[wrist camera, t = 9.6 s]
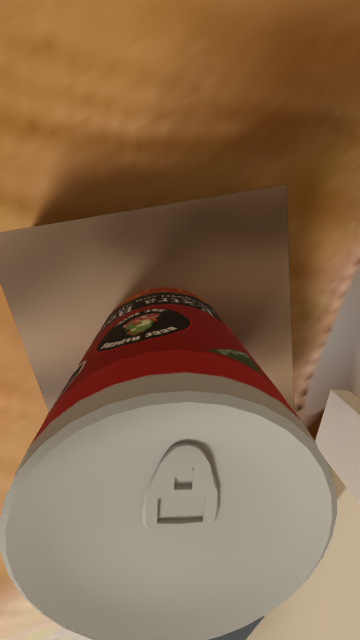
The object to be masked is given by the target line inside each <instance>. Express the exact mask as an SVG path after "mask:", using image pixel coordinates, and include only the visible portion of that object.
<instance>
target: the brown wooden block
mask: <svg viewBox="0 0 360 640" xmlns="http://www.w3.org/2000/svg"><path fill="white" fill-rule="evenodd" d="M0 283H1V286H2V289H3V291H4V294H5V297H6V299H7V302H8V305H9V307H10V310H11V313H12V315H13V318H14V321H15V323H16V326H17V329H18V331H19V334H20V337H21V339H22V342H23V345H24V347H25V350H26V353H27V355H28V358H29V361H30V363H31V366H32V369H33V371H34V374H35V377H36V379H37V382H38V385H39V387H40V390H41V393H42V395H43V398H44V401H45V403H46V406H47V409H48V411H49V412H50V410H51V408H52V407H53V405H54V403H55V402H56V400H57V399H58V397H59V395H60V394H61V392H62V391H63V389H64V387H65V386H66V384H67V382H68V381H69V379H70V378H71V376H72V374H73V373H74V371H75V369H76V368H77V366H78V365H79V363H80V361H81V360H82V358H83V357H84V355H85V353H86V352H87V350H88V348H89V347H90V345H91V344H92V342H93V340H94V339H95V337H96V335H97V334H98V332H99V331H100V329H101V327H102V326H103V324H104V323H105V321H106V319H107V318H108V316H109V315H110V314H111V313H112V311H113V310H114V309H115V308H116V307H117V306H118V305H119V304H120V303H122V302H123V301H124V300H125V299H127V298H128V297H130V296H132V295H134V294H136V293H138V292H140V291H144V290H147V289H151V288H159V287H171V288H178V289H183V290H185V291H188V292H191V293H193V294H195V295H197V296H199V297H200V298H202V299H203V300H205V301H206V302H207V303H208V304H209V305H210V306H211V307H212V308H213V309H214V310H215V311H216V312H217V313H218V315H219V316H220V317H221V318H222V320H223V321H224V322H225V323H226V325H227V326H228V327H229V328H230V330H231V331H232V332H233V333H234V335H235V336H236V337H237V338H238V340H239V341H240V342H241V344H242V345H243V346H244V347H245V349H246V350H247V351H248V352H249V354H250V355H251V356H252V357H253V359H254V360H255V361H256V362H257V364H258V365H259V366H260V367H261V369H262V370H263V371H264V372H265V374H266V375H267V376H268V377H269V379H270V380H271V381H272V383H273V384H274V385H275V386H276V388H277V389H278V390H279V391H280V393H281V394H282V395H283V397H284V398H285V400H286V402H287V403H288V404H289V406H290V407H291V408H292V409H293V411H294V390H293V360H292V331H291V302H290V272H289V243H288V214H287V184H285V185H279V186H273V187H267V188H261V189H255V190H249V191H243V192H237V193H231V194H225V195H219V196H213V197H207V198H202V199H196V200H190V201H184V202H178V203H172V204H166V205H160V206H154V207H148V208H142V209H136V210H130V211H124V212H118V213H112V214H106V215H100V216H94V217H89V218H83V219H77V220H71V221H65V222H59V223H53V224H47V225H41V226H35V227H29V228H23V229H17V230H11V231H5V232H0Z"/></svg>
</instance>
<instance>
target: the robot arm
mask: <svg viewBox="0 0 360 640" xmlns="http://www.w3.org/2000/svg"><path fill="white" fill-rule="evenodd" d="M315 442H316V444H317V447H318V449H319V451H320V452H321V454H322V455H323V457H324V458H325V459H326V461H327V462H328V463H329V465H330V466H331V467H332V469H333V470H334V471H335V473H336V474H337V475H338V477H339V478H340V479H341V481H342V482H343V483H344V485H345V486H346V487H347V489H348V490H349V491H350V492H351V494H352V495H353V497H354V498H355V499H356V501H357V502H358V503H359V505H360V400H359V399H358V398H357V397H356V396H354V395H353V394H352V393H351V392H349V391H348V390H331V391H330V395H329V397H328V401H327V404H326V407H325V411H324V414H323V417H322V421H321V424H320V427H319V431H318V434H317V437H316V441H315Z"/></svg>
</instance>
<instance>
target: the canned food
mask: <svg viewBox="0 0 360 640" xmlns="http://www.w3.org/2000/svg"><path fill="white" fill-rule="evenodd" d="M336 515H337V500H336V487H335V484H334V480H333V477H332V474H331V471H330V468H329V465H328V463H327V461H326V460H325V458H324V457H323V455H322V454H321V452H320V451H319V449H318V447H317V444H316V442H315V441H314V439H313V438H312V436H311V435H310V433H309V432H308V430H307V429H306V427H305V425H304V424H303V422H302V421H301V420H300V418H299V417H298V416H297V415H296V413H295V412H294V411H293V409H292V408H291V407H290V406H289V404H288V403H287V402H286V400H285V398H284V397H283V395H282V394H281V393H280V391H279V390H278V389H277V388H276V386H275V385H274V384H273V383H272V381H271V380H270V379H269V377H268V376H267V375H266V374H265V372H264V371H263V370H262V369H261V367H260V366H259V365H258V364H257V362H256V361H255V360H254V359H253V357H252V356H251V355H250V354H249V352H248V351H247V350H246V349H245V347H244V346H243V345H242V344H241V342H240V341H239V340H238V338H237V337H236V336H235V335H234V333H233V332H232V331H231V330H230V328H229V327H228V326H227V325H226V323H225V322H224V321H223V320H222V318H221V317H220V316H219V315H218V313H217V312H216V311H215V310H214V309H213V308H212V307H211V306H210V305H209V304H208V303H207V302H206V301H205V300H203V299H202V298H200V297H199V296H197V295H195V294H193V293H191V292H188V291H185V290H183V289H178V288H171V287H159V288H151V289H147V290H144V291H140V292H138V293H136V294H134V295H132V296H130V297H128V298H127V299H125V300H124V301H123V302H122V303H120V304H119V305H118V306H117V307H116V308H115V309H114V310H113V311H112V313H111V314H110V315H109V316H108V318H107V319H106V321H105V323H104V324H103V326H102V327H101V329H100V331H99V332H98V334H97V335H96V337H95V339H94V340H93V342H92V344H91V345H90V347H89V348H88V350H87V352H86V353H85V355H84V357H83V358H82V360H81V361H80V363H79V365H78V366H77V368H76V369H75V371H74V373H73V374H72V376H71V378H70V379H69V381H68V382H67V384H66V386H65V387H64V389H63V391H62V392H61V394H60V395H59V397H58V399H57V400H56V402H55V403H54V405H53V407H52V408H51V410H50V412H49V413H48V415H47V417H46V419H45V421H44V423H43V425H42V426H41V428H40V430H39V432H38V433H37V435H36V436H35V438H34V440H33V441H32V443H31V445H30V446H29V448H28V450H27V452H26V454H25V456H24V458H23V460H22V462H21V464H20V466H19V467H18V469H17V471H16V474H15V478H14V481H13V483H12V485H11V487H10V489H9V490H8V492H7V494H6V496H5V499H4V504H3V508H2V513H1V517H0V552H1V555H2V558H3V561H4V564H5V567H6V570H7V572H8V575H9V577H10V578H11V580H12V581H13V583H14V584H15V586H16V587H17V589H18V590H19V592H20V593H21V595H22V596H23V597H24V598H25V599H26V600H27V601H28V602H29V603H30V604H31V605H32V606H33V607H34V608H35V609H36V610H38V611H39V612H40V613H41V614H42V615H44V616H45V617H47V618H49V619H50V620H52V621H53V622H55V623H57V624H58V625H60V626H61V627H63V628H65V629H68V630H70V631H73V632H75V633H78V634H80V635H82V636H85V637H87V638H90V639H94V640H208V639H212V638H216V637H220V636H222V635H225V634H227V633H230V632H232V631H235V630H237V629H240V628H242V627H245V626H247V625H248V624H250V623H252V622H254V621H256V620H257V619H259V618H261V617H263V616H265V615H266V614H268V613H269V612H270V611H272V610H273V609H275V608H276V607H277V606H278V605H280V604H281V603H282V602H284V601H285V600H286V599H288V598H289V597H290V596H291V595H292V594H293V593H294V592H295V591H296V590H297V589H298V588H299V587H300V586H301V585H302V584H303V583H304V582H305V581H306V580H307V579H308V578H309V577H310V575H311V574H312V572H313V571H314V570H315V568H316V567H317V565H318V564H319V562H320V561H321V559H322V558H323V556H324V554H325V551H326V549H327V547H328V544H329V542H330V540H331V538H332V535H333V530H334V525H335V520H336Z"/></svg>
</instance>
